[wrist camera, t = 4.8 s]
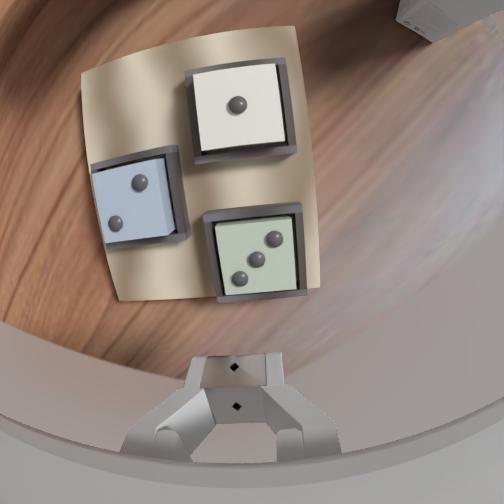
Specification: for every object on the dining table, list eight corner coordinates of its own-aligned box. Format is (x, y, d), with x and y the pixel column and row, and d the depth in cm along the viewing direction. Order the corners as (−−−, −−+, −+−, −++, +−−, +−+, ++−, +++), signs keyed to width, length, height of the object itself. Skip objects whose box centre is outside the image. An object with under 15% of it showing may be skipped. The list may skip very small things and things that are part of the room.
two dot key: (116, 236, 21) (104, 244, 19) (104, 171, 19) (90, 174, 17) (175, 228, 20) (167, 235, 18) (164, 158, 19) (154, 159, 17)
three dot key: (228, 284, 22) (225, 296, 21) (218, 220, 21) (214, 227, 19) (294, 278, 22) (296, 290, 20) (289, 213, 20) (291, 219, 19)
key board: (128, 291, 25) (112, 309, 22) (93, 77, 19) (71, 70, 16) (315, 276, 24) (323, 296, 21) (291, 35, 18) (296, 17, 14)
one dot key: (207, 150, 18) (200, 150, 17) (199, 81, 17) (192, 73, 15) (283, 142, 18) (285, 140, 16) (274, 71, 16) (275, 62, 15)
